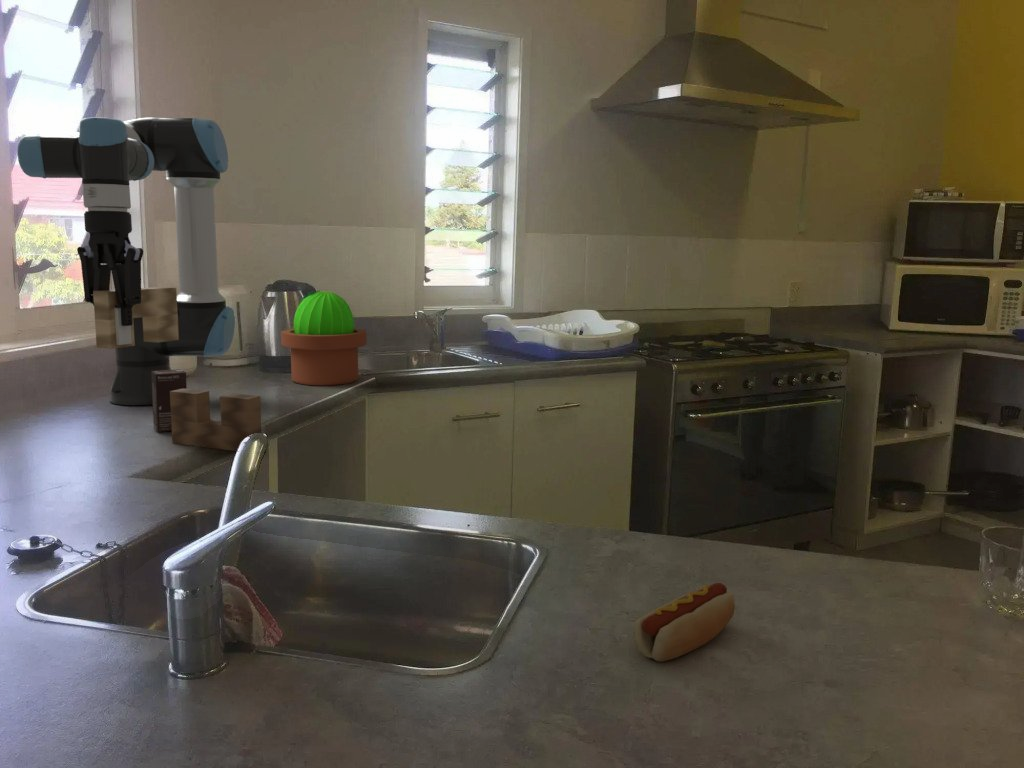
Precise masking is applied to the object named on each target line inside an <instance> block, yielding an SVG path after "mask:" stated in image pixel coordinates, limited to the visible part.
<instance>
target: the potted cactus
mask: <svg viewBox="0 0 1024 768" xmlns="http://www.w3.org/2000/svg"><path fill="white" fill-rule="evenodd" d="M322 290H323V291H321V290H316V291H314V290H312V291H310V292H308V293H307V295H304V296H303V297H302V298H301V299H300V300H299V301H298V303H299V304H298V305H297V306H295V307H294V308H296V309H295V310H296V311H295V312H294V318H293V321H292V323H291V324H292V325H293V326H292V327H291V328H290V329H289V328H288V329H285V330H282V331H281V332H280V338H281V346H283V347H285V348H288V349H289V348H290V366H291V367H290V368H291V369H290V370H291V371H290V372H291V381H292V382H294V383H296V384H300V385H307V386H338V385H344V384H351V383H354V382H357V381H358V380H359V348H360V347H361V348H362V347H364V346H366V345H367V343H368V342H367V339H368V338H367V336H368V335H367V331H366V330H365V329H360V328H357V327H356V326H357V325H356V323H355V319H354V314H353V313H352V311H353V309H351V307H350V305H349V303H348V302H346V299H344V297H342V296H340V295H339V294H337V293H335V290H334V291H327V289H325V290H324V289H322ZM300 301H301V302H300ZM355 327H356V328H355Z"/></svg>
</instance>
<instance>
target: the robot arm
mask: <svg viewBox="0 0 1024 768" xmlns="http://www.w3.org/2000/svg"><path fill="white" fill-rule="evenodd" d="M78 127H79V128H78V132H73V133H72V132H70V133H63V134H55V135H41V134H37V135H25V136H23V137H21V139H20V140H19V141H18V144H17V150H16V151H17V153H16V154H17V158H18V159H17V160H18V164H19V166H20V169H21V170H22V172H23V173H24V174H25V175H26V176H28V177H31V178H41V179H81V183H82V196H83V201H82V202H83V207H84V208H87V210H86V211H85V212H84V213H83V217H84V218H83V219H84V230H85V231H86V233H88V234H89V238H88V239H89V240H88V244H87V245H85V246H78V247H77V249H76V251H77V254H78V256H79V259H80V260H79V261H80V266H81V274H82V275H81V276H82V284H83V292H84V293H83V294H84V300H85V302H86V303H90V304H92V305H93V306H94V297H93V291H101V290H111V287H110V285H111V277H112V281H113V285H114V286H113V287H114V290H115V292H116V297H117V303H118V305H115V307H116V308H114V309H115V326H116V343H117V345H124V344H132V338H131V325H132V323H133V324H134V342H135V346H128V347H121V348H114V349H115V360H116V361H115V364H116V365H115V366H116V368H115V369H116V371H115V372H114V373H115V374H114V377H113V381H112V383H111V387H110V391H109V399H110V400H109V401H110V403H112V404H115V405H122V406H146V405H147V406H148V405H153V398H152V376H151V372H152V371H161V370H172V369H171V365H170V357H204V358H209V357H221V356H223V355H226V354H227V353H228V352H229V349H230V348H231V346H232V343H233V339H234V334H235V329H236V328H235V324H236V316H235V310H234V309H233V308H232V307H230V306H227V303H226V300H227V299H226V298H225V297H224V296H223V295H222V294H221V293H220V292H219V276H218V254H217V252H218V251H217V230H216V227H217V226H216V209H215V208H216V206H215V187H216V186H217V185H218V184H219V183H220V182H221V174H223V173H225V172H227V170H228V168H229V155H228V148H227V144H226V140H225V137H224V134H223V132H222V130H221V127H220V126H219V124H218V123H217V122H215V121H214V120H212V119H206V118H197V117H192V118H191V117H187V118H186V117H183V118H182V117H140V118H135V119H134V118H133V119H129V120H125V121H122V120H120V119H116V118H108V117H85V118H82V119H81V120H80V121H79V123H78ZM153 171H157V172H165V176H166V180H167V181H168V182H169V183H170V184H171V185H172V186H173V191H174V192H173V193H174V212H175V228H176V230H175V231H176V232H175V233H176V246H177V247H176V250H177V265H178V268H177V269H178V283H179V284H178V287H179V292H178V293H177V313H178V334H179V340H173V341H166V342H158V343H157V342H145V341H144V335H143V317H140V318H133V320H132V307H133V306H134V305H136V304H140V303H141V288H142V259H143V255H144V249H143V248H142V247H135V246H134V245H132V242H131V240H130V237H129V234H130V233H132V232H133V227H132V223H133V222H132V214H131V212H129V211H128V210H129V209H131V207H132V205H131V189H130V181H134V182H135V181H140V180H144V179H146V178H147V177H148V176H150V175H151V173H152V172H153ZM124 299H125V300H124Z"/></svg>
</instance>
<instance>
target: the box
mask: <svg viewBox="0 0 1024 768" xmlns="http://www.w3.org/2000/svg"><path fill="white" fill-rule="evenodd" d="M151 376H152V398H153V404H152V415H153V416H152V417H153V419H152V422H153V430H154V431H155V432H157V433H162V432H172V425H171V405H170V391H173V390H178V389H183V388H184V389H188V388H187V387H188V386H187V372H186V371H185V370H183V369H180V368H178V369H171V370H161V371H152V372H151Z"/></svg>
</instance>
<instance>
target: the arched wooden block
mask: <svg viewBox="0 0 1024 768" xmlns="http://www.w3.org/2000/svg"><path fill="white" fill-rule="evenodd" d="M92 295H93V297H94V305H93V309H94V310H93V311H94V326H95V341H96V345H95V346H96V348H98V349H110V350H112V349H115V348H121V347H128V346H135V342H134V324H133V323H132V325H131V338H132V344H124V345H117V343H116V326H115V309H114V308H116V307H115V305H118V303H117V297H116V292H115V289H109V290H101V291H93V294H92ZM177 295H178V293H177V287H171V286H170V287H169V286H157V287H153V286H152V287H141V303H140V304H136V305H134V306H133V307H132V320H133V318H140V317H143V335H144V341H145V342H157V343H158V342H166V341H173V340H179V334H178V313H177ZM124 300H125V299H124Z"/></svg>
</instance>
